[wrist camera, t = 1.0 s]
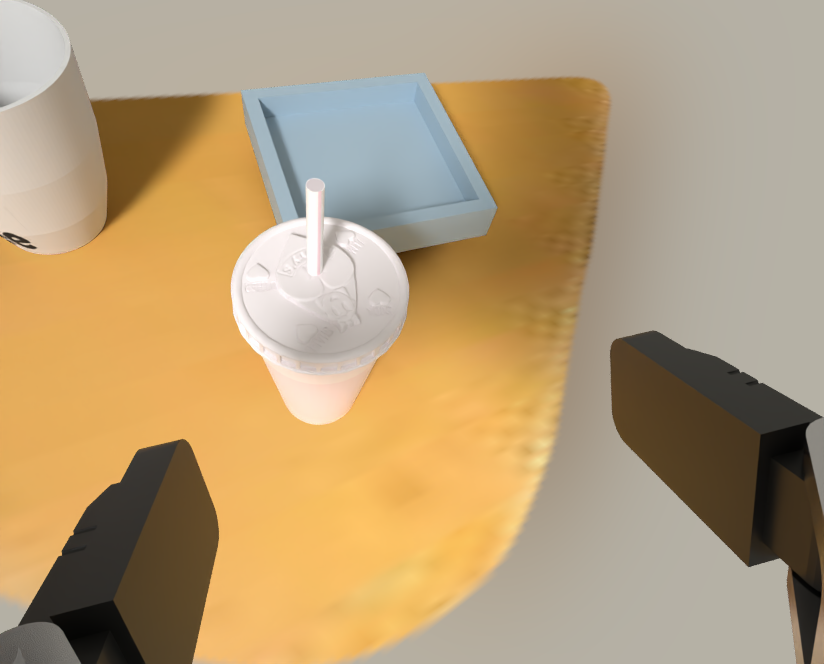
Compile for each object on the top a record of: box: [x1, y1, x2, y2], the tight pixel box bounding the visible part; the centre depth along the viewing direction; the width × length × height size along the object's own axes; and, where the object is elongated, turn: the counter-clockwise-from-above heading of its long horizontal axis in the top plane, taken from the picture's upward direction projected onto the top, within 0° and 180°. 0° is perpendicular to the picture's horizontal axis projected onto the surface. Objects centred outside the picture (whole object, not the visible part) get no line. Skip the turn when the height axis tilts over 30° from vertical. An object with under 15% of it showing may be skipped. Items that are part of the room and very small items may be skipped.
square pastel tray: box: [241, 73, 498, 253], centre depth 33 cm, size 12×12×4 cm
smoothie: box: [231, 178, 409, 425], centre depth 22 cm, size 6×6×14 cm
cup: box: [0, 0, 107, 255], centre depth 26 cm, size 8×8×10 cm
